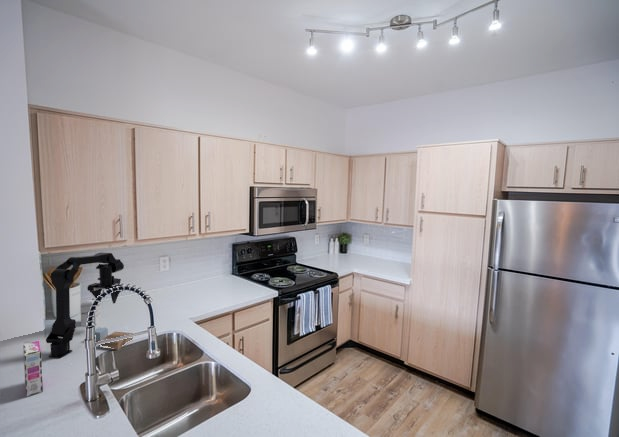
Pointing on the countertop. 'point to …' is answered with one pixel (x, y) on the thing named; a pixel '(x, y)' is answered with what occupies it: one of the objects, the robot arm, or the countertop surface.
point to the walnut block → (116, 344)
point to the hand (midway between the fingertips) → (106, 302)
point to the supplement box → (85, 309)
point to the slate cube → (101, 333)
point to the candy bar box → (33, 368)
